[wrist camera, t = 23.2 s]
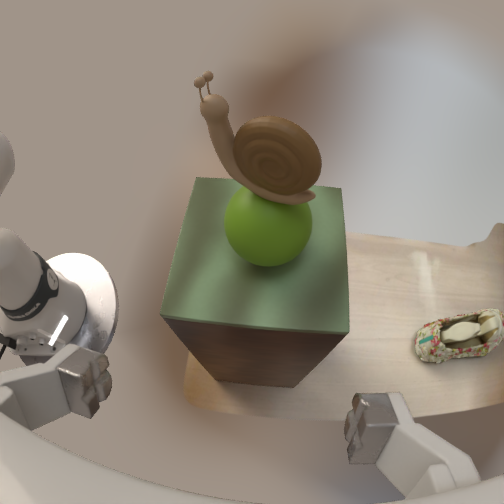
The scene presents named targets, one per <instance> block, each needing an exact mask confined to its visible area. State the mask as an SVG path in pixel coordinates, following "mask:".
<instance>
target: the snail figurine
mask: <svg viewBox="0 0 504 504" xmlns="http://www.w3.org/2000/svg"><path fill="white" fill-rule="evenodd" d="M212 79H213V74H212V73H211V72H210V71H206V72H204V73H203V75H202V77H197V78H196V79H195V81H194V85H195V87H197V88H199V92H200V97H201V103H200V111H201V114H202V116H203V117H204V118H205V120H206V122H207V125H208V130H209V134H210V138H211V141H212V143H213V146H214V148H215V151H216V153H217V155H218V157H219V159H220V161H221V163H222V164H223V166H224V168H225V169H226V171H227V172H228V173H229V175H230V176H231V177H232V178H233V179H234V180H236V181H237V182H238V183H240V184H241V185H243V187H241V188H240V189H239V190H238V191H237V192H236V193H235V194H234V195H233V197H232V198H231V200H230V201H229V203H228V205H227V208H226V212H225V217H224V228H225V233H226V237H227V239H228V241H229V243H230V245H231V247H232V248H233V249H234V251H235V252H236V253H237V254H238V255H239V256H240V257H242V258H243V259H245V260H246V261H248V262H250V263H252V264H255V265H259V266H268V267H269V266H278V265H282V264H284V263H287V262H289V261H291V260H292V259H294V258H295V257H296V256H298V255H299V254H300V253H301V252H302V250H303V249H304V248H305V246H306V245H307V243H308V241H309V238H310V235H311V232H312V213H311V210H310V207H309V204H308V202H309V201H311V200H313V199H314V198H315V197H316V194H315V193H314V192H313V191H311V190H308V189H309V188H311V187H312V186H313V185H314V184H315V182H316V181H317V180H318V178H319V175H320V172H321V165H322V163H321V156H320V153H319V149H318V147H317V145H316V144H315V142H314V140H313V139H312V138H311V137H310V135H309V134H308V133H307V132H306V131H305V130H303V129H302V128H301V127H300V126H298V125H297V124H295V123H293V122H291V121H289V120H287V119H284V118H280V117H275V116H261V117H256V118H254V119H252V120H249V121H248V122H246V123H245V124H244V125H242V126H241V127H240V129H239V131H238V132H237V134H236V136H235V137H234V134H233V131H232V129H231V127H230V123H229V120H228V113H229V105H228V103H227V101H226V100H225V99H224V98H223V97H222V96H220V95H217V94H210V91H209V84H208V82H209V81H211V80H212ZM206 82H207V89H208V93H209V95H208V96H206V97H204V98H202V95H201V88H202V87H203V86H204V85H205V83H206Z"/></svg>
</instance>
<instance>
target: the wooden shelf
mask: <svg viewBox="0 0 504 504" xmlns="http://www.w3.org/2000/svg"><path fill="white" fill-rule="evenodd" d="M241 187H243V185H241V184H240V183H238V182H237V181H236V180H234V179H222V178H200V177H196V180H195V183H194V186H193V190H192V193H191V196H190V200H189V203H188V206H187V210H186V213H185V217H184V220H183V224H182V228H181V231H180V235H179V238H178V242H177V246H176V250H175V253H174V257H173V262H172V265H171V269H170V273H169V277H168V281H167V285H166V290H165V294H164V298H163V302H162V307H161V311H160V315H161V317H162V318H163V319H164V320H165V321H166V323H167V324H168V325H169V326H170V328H171V329H172V330H173V331H174V333H175V334H176V335H177V336H178V337H179V339H180V340H181V341H182V342H183V343H184V345H185V346H186V347H187V348H188V349H189V351H190V352H191V353H192V354H193V355H194V356H195V358H196V359H197V360H198V361H199V362H200V363H201V364H202V366H203V367H204V368H205V369H206V370H207V371H208V372H209V374H210V375H211V376H212V377H213V378H214V379H215V380H217V381H225V382H233V383H242V384H252V385H262V386H275V387H290V388H294V387H295V386H296V385H297V384H298V383H299V382H300V381H301V380H302V379H303V378H304V377H305V376H306V375H308V374H309V373H310V372H311V371H312V370H313V369H314V368H315V367H316V366H317V365H318V364H319V363H320V362H321V361H322V360H323V359H324V358H325V357H326V356H327V355H328V354H329V353H330V352H331V351H332V350H333V349H334V348H335V347H336V345H337V344H338V343H339V342H340V341H341V340H342V339H343V338H344V337H345V336H346V335H347V334H348V333H349V288H348V266H347V249H346V235H345V223H344V212H343V201H342V192H341V188H334V187H324V186H315V185H313V186H312V187H311V188H309V189H308V190H311V191H313V192H314V193H315V194H316V197H315V198H314V199H313V200H311V201H309V202H308V204H309V207H310V210H311V213H312V232H311V235H310V238H309V241H308V243H307V245H306V246H305V248H304V249H303V250H302V252H301V253H300V254H299V255H298V256H296V257H295V258H294V259H292V260H291V261H289V262H287V263H284V264H282V265H278V266H269V267H268V266H259V265H255V264H252V263H250V262H248V261H246V260H245V259H243V258H242V257H240V256H239V255H238V254H237V253H236V252H235V251H234V249H233V248H232V247H231V245H230V243H229V241H228V239H227V237H226V233H225V228H224V217H225V212H226V208H227V205H228V203H229V201H230V200H231V198H232V197H233V195H234V194H235V193H236V192H237V191H238V190H239V189H240V188H241Z"/></svg>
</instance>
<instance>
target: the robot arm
mask: <svg viewBox="0 0 504 504" xmlns="http://www.w3.org/2000/svg"><path fill="white" fill-rule="evenodd" d="M14 167H15V161H14V154H13V150H12V147H11V144H10V143H9V141H8V139H7V138H6V137H5V135H4V134H3V133H2V132H0V195H1V194H2V192H3V190H4V189H5V187H6V185H7V183H8V182H9V180H10V178H11V176H12V175H13V173H14ZM85 313H86V300H85V296H84V293H83V291H82V289H81V288H80V287H79V286H78V285H77V284H76V283H75V282H73V281H70V280H68V279H67V278H65V277H64V276H63V275H62V274H61V273H60V272H59V271H57V270H54V269H52V268H51V267H50V265H49V264H48V263H47V262H46V261H45V260H44V259H43V258H42V257H41V256H40V255H39V254H38V253H36V252H34V251H32V250H31V249H30V248H29V247H28V246H27V245H26V244H25V243H24V242H23V241H22V240H21V239H20V238H19V236H18V235H17V234H16V233H15V232H13V231H12V230H10V229H7V228H0V328H1V332H2V334H1V333H0V343H1V344H3V347H2V349H1V351H0V359H1V357H2V354H3V353H4V351H5V348H6V347H8V348H9V350H10V352H11V353H12V354H14V355H27V356H53V357H52V358H50V359H49V360H48V361H47V362H46V363H44V364H43V363H38V364H34V365H29V366H25V367H21V368H16V369H12V370H7V371H3V372H0V504H259V503H249V502H243V501H235V500H229V499H222V498H216V497H211V496H205V495H201V494H196V493H191V492H187V491H183V490H179V489H174V488H171V487H167V486H163V485H160V484H156V483H153V482H149V481H146V480H143V479H140V478H137V477H133V476H131V475H128V474H125V473H122V472H119V471H117V470H114V469H111V468H109V467H106V466H104V465H101V464H98V463H96V462H94V461H91V460H89V459H87V458H84V457H82V456H80V455H78V454H75V453H73V452H71V451H69V450H67V449H65V448H62V447H61V446H59V445H57V444H55V443H52V442H50V441H49V440H47V439H45V438H43V437H41V436H40V435H38V434H36V433H34V432H32V430H34V429H36V428H39V427H41V426H43V425H45V424H47V423H50V422H51V421H54V420H56V419H58V418H60V417H63V416H64V415H67V414H69V413H70V412H74V413H76V414H79V415H81V416H84V417H87V418H90V419H91V418H92V417H93V415H94V414H95V413H96V412H97V410H98V409H99V407H100V406H99V402H101V401H104V400H106V399H107V397H108V396H109V394H110V391H111V388H112V378H111V375H110V374H109V372H108V371H107V368H108V366H109V362H108V357H107V356H106V355H105V354H102V353H99V352H95V351H92V350H89V349H86V348H83V347H80V346H77V345H74V344H69V343H70V341H71V340H72V338H73V337H74V336H75V335H76V334H77V332H78V331H79V329H80V328H81V326H82V324H83V321H84V318H85ZM55 348H56V350H55ZM352 406H353V409H352V410H351V411H350V412H348V414H347V417H346V421H345V428H344V432H345V439H346V440H347V441H348V442H349V446H348V448H347V452H348V458H349V464H375V466H376V467H377V468H378V469H379V470H380V471H381V472H382V473H383V474H384V475H385V477H386V478H387V479H388V480H389V481H390V482H391V483H392V484H393V485H394V486H395V487H396V488H397V489H398V490H399V491H400V492H401V493H402V494H403V495H404V497H405V499H404V500H400V501H393V502H385V503H376V504H504V474H502V475H499V476H496V477H493V478H490V479H487V480H485V481H482V480H481V478H480V475H479V473H478V471H477V469H476V467H475V465H474V463H473V461H472V459H471V457H470V456H469V455H467V454H466V453H464V452H462V451H461V450H459V449H457V448H456V447H455V446H453V445H452V444H450V443H448V442H447V441H445V440H444V439H442V438H441V437H439V436H438V435H436V434H434V433H433V432H432V431H430V430H429V429H427V428H426V427H424V426H423V425H421V424H419V423H417V424H415V422H414V419H413V417H412V415H411V413H410V410H409V408H408V406H407V404H406V402H405V400H404V397H403V395H402V394H401V393H400V392H387V393H356V394H355V396H354V397H353V400H352Z"/></svg>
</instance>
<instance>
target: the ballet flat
mask: <svg viewBox="0 0 504 504" xmlns="http://www.w3.org/2000/svg"><path fill="white" fill-rule="evenodd" d="M503 339H504V315H503V313H502V312H501V311H499V310H498V309H492V308H491V309H482V310H479V311H478V312H477V311H476V312H473V313H469V314H467V315H465V314H464V315H462V314H461V315H457V316H456V317H453V318H450V317H448V318H444V319H440V320H439V319H438V321H436V322H432V323H428V324H426V325H424V327H423V328H422V329H421V330H419V331H417V338H416V339H415V349H416V354H417V355H418V356H419V357H420V359H421V360H422V361H423V362H424V361H426V362H437V363H440V362H441V361H442V362H443V361H447V360H448V359H451V358H459V359H460V358H462V357H464V358H465V357H467V356H468V357H469V356H472V357H473V356H485V355H487V354H486V353H490V352H491V351H492V350H493V349H494V348H496V347H497V346H498V345H499V343H500V342H501V341H502V340H503Z"/></svg>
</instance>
